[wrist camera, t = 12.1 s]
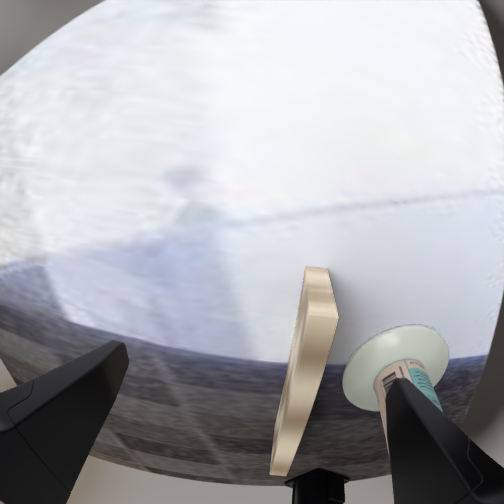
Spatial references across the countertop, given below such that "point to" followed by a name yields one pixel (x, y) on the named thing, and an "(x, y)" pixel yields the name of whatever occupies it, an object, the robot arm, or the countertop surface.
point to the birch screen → (304, 365)
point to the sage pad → (392, 360)
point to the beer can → (402, 370)
